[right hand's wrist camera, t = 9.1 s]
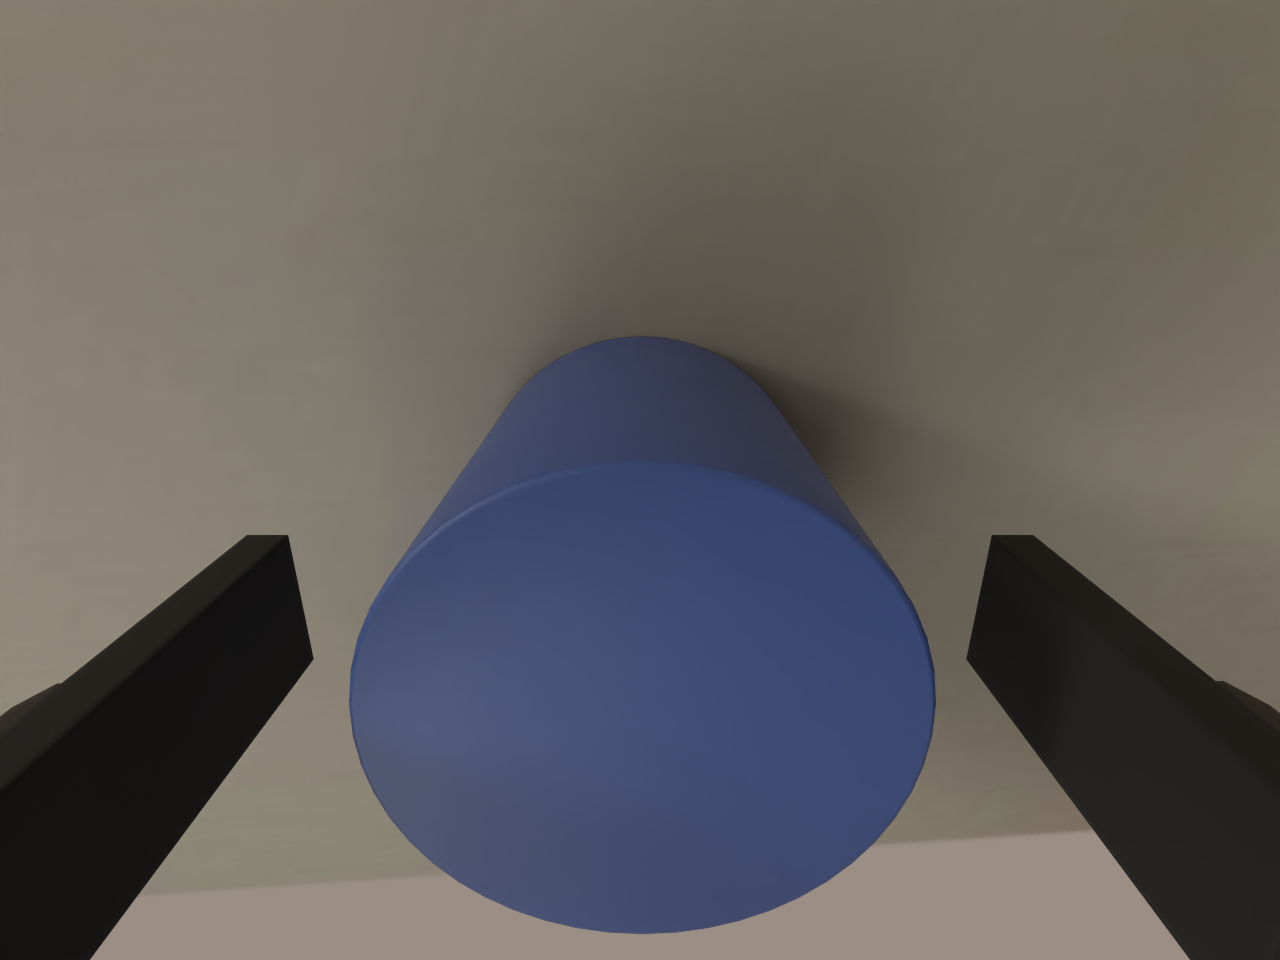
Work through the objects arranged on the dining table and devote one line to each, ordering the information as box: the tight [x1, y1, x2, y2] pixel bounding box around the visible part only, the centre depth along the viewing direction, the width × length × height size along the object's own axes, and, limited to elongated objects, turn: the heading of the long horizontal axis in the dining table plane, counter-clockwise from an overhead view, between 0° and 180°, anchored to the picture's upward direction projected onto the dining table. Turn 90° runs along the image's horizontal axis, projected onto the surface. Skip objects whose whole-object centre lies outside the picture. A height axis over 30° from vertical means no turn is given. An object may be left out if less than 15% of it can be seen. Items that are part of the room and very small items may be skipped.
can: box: [349, 337, 936, 934], centre depth 13 cm, size 8×8×9 cm
